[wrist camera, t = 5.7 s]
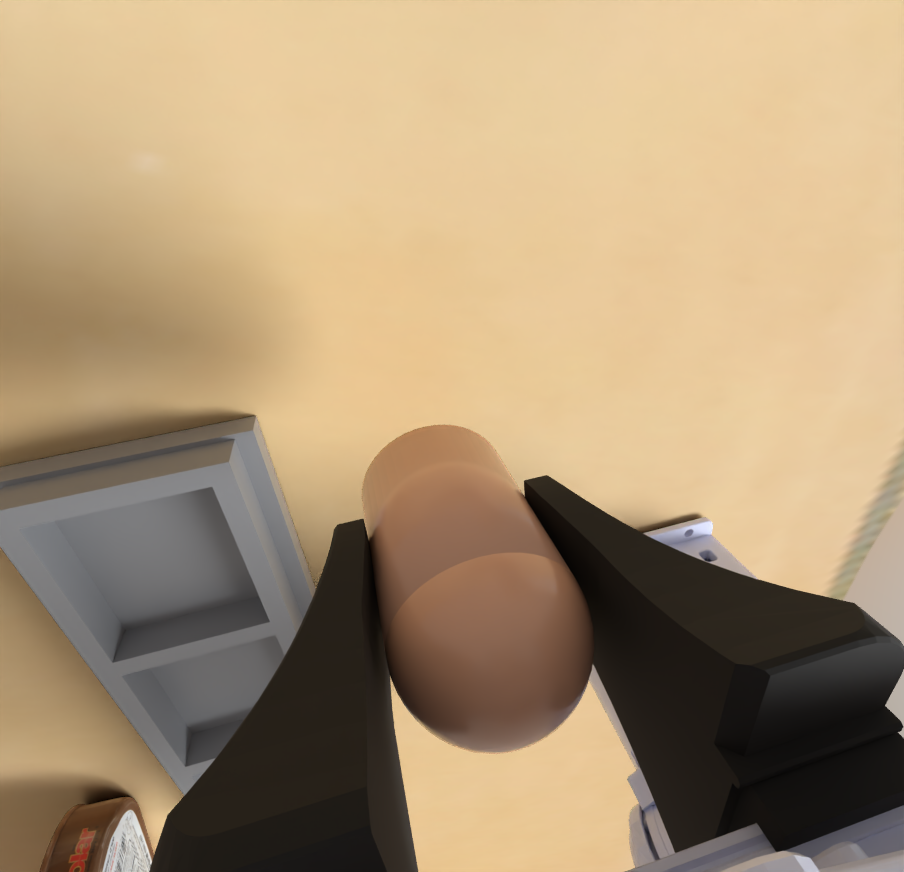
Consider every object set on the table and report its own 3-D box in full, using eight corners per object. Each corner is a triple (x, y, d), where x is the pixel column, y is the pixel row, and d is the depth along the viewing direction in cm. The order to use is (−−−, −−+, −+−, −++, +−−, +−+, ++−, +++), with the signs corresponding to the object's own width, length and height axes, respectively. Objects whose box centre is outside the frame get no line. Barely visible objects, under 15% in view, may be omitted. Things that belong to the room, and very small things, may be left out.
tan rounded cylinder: (499, 410, 14) (647, 614, 8) (507, 527, 16) (629, 761, 10) (347, 443, 13) (379, 691, 7) (376, 559, 15) (420, 830, 9)
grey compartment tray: (256, 415, 19) (248, 452, 17) (373, 757, 32) (378, 806, 29) (-5, 467, 18) (-52, 515, 16) (222, 803, 30) (215, 859, 28)
